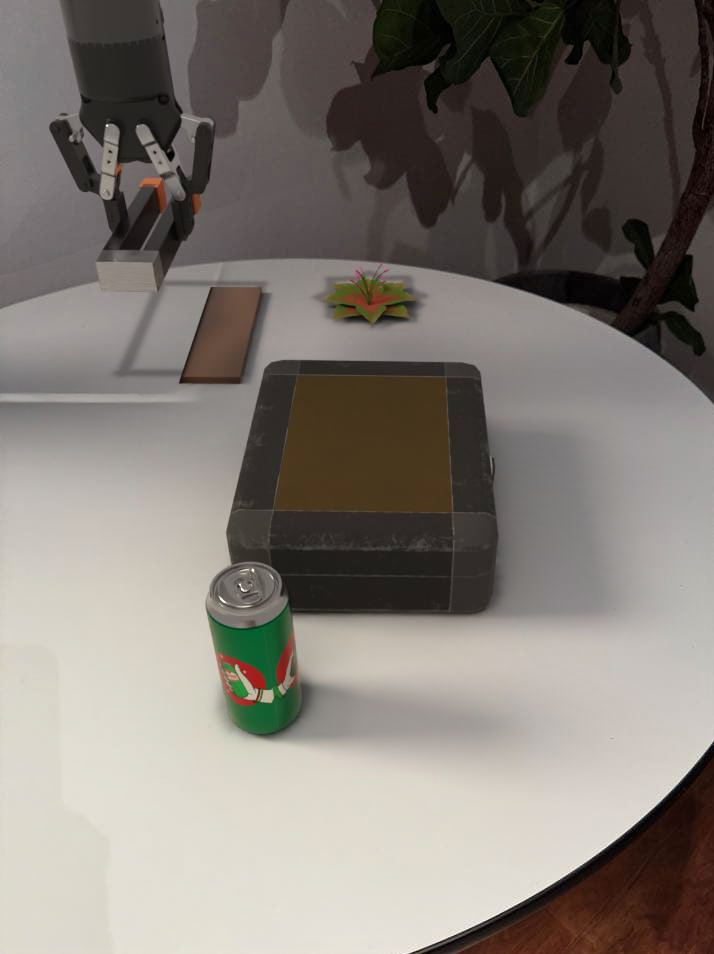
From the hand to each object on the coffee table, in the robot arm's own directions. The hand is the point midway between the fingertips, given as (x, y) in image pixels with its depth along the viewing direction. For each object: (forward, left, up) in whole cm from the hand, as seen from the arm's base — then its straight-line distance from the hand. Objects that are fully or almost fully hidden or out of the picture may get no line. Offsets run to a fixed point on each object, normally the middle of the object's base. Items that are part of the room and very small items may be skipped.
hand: (154, 236), depth 80 cm
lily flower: (+19, +17, -16) cm, 30 cm away
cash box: (+20, -20, -16) cm, 33 cm away
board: (0, +10, -15) cm, 18 cm away
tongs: (0, 0, -1) cm, 1 cm away
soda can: (+13, -41, -16) cm, 46 cm away
